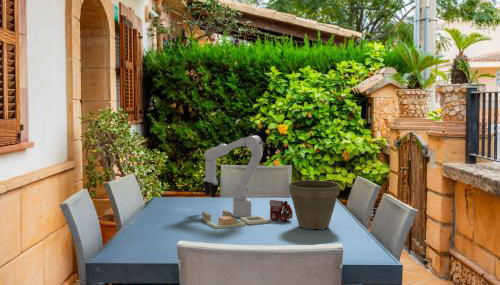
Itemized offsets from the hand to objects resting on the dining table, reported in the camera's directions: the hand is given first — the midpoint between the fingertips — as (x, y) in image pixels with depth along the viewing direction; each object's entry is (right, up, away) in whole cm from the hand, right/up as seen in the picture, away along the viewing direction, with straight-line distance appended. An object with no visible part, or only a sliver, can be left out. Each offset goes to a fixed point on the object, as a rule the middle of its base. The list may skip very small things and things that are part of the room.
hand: (210, 196), depth 303 cm
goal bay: (+10, -12, -27) cm, 31 cm away
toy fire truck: (+38, -12, -14) cm, 42 cm away
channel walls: (+5, -11, -17) cm, 21 cm away
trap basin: (+24, -11, -20) cm, 33 cm away
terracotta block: (+10, -12, -28) cm, 32 cm away
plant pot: (+53, -13, -28) cm, 61 cm away
